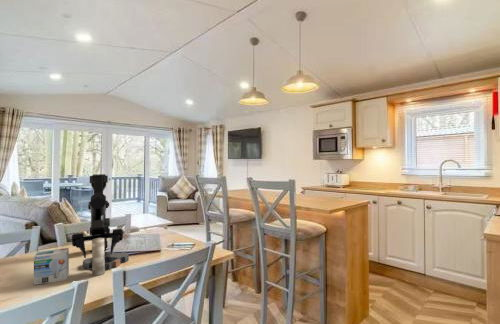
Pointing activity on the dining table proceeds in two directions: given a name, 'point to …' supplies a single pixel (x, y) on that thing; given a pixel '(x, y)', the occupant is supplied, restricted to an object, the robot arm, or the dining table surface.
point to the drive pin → (98, 257)
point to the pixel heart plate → (109, 260)
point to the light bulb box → (51, 266)
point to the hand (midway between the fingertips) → (98, 255)
